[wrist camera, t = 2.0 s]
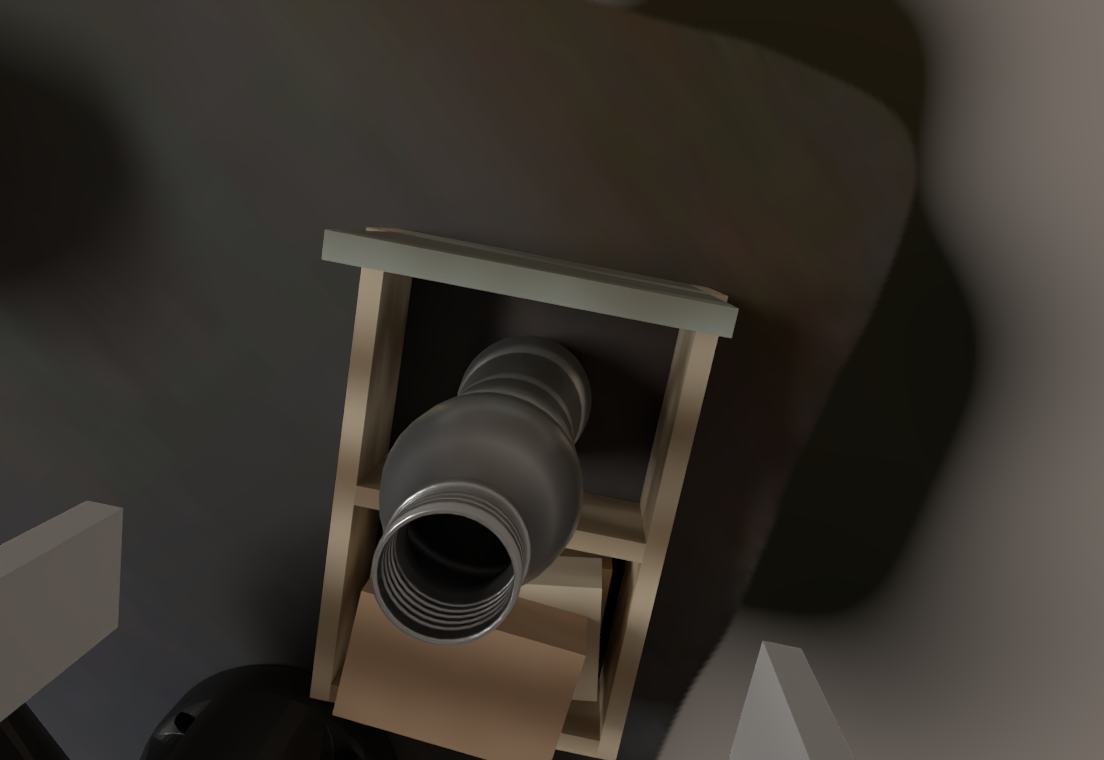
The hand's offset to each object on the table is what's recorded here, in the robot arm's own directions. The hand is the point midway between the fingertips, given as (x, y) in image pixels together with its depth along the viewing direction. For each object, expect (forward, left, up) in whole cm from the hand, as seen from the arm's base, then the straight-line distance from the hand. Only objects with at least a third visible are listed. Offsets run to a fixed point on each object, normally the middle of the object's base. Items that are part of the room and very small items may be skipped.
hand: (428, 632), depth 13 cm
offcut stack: (-12, 0, -23) cm, 25 cm away
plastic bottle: (0, 0, -23) cm, 23 cm away
